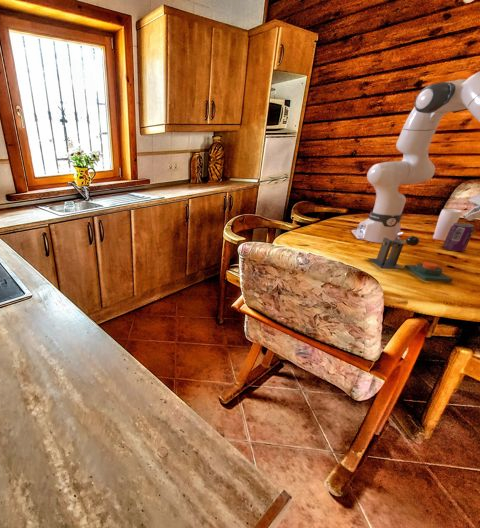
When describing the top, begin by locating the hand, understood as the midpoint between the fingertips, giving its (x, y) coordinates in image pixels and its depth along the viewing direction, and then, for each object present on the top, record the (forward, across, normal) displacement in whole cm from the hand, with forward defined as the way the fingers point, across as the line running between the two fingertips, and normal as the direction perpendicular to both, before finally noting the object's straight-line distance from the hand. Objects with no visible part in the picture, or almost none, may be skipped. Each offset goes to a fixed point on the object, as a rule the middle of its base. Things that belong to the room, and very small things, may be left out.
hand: (465, 218), depth 94 cm
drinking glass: (+6, -58, +29) cm, 65 cm away
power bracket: (+27, -9, +8) cm, 29 cm away
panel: (+19, -3, +15) cm, 24 cm away
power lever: (+18, -4, +1) cm, 18 cm away
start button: (+16, -3, +13) cm, 21 cm away
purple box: (+6, -43, +29) cm, 52 cm away
